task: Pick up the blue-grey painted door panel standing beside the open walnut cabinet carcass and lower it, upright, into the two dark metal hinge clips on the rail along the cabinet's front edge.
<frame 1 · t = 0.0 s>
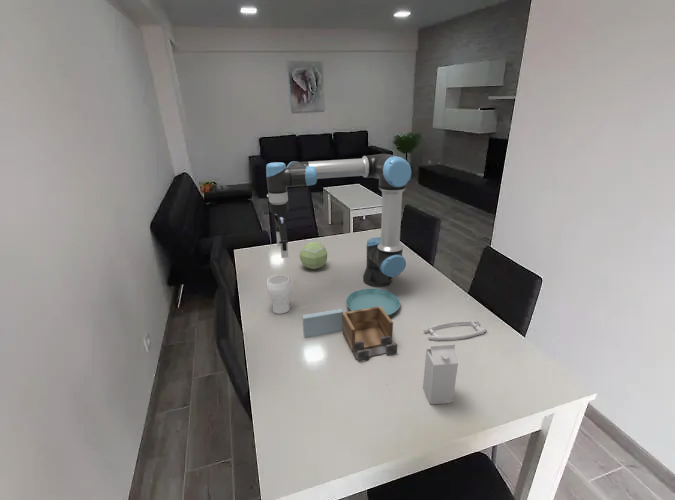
hand: (282, 251, 148), 28 cm above the table, fingers open, 13 cm apart
saucer: (372, 308, 159), on the table
decorative sphere: (314, 267, 199), on the table
door handle: (454, 333, 140), on the table
door: (323, 332, 142), on the table
cabinet: (366, 339, 137), on the table
cup: (281, 309, 159), on the table
milk carton: (437, 395, 110), on the table
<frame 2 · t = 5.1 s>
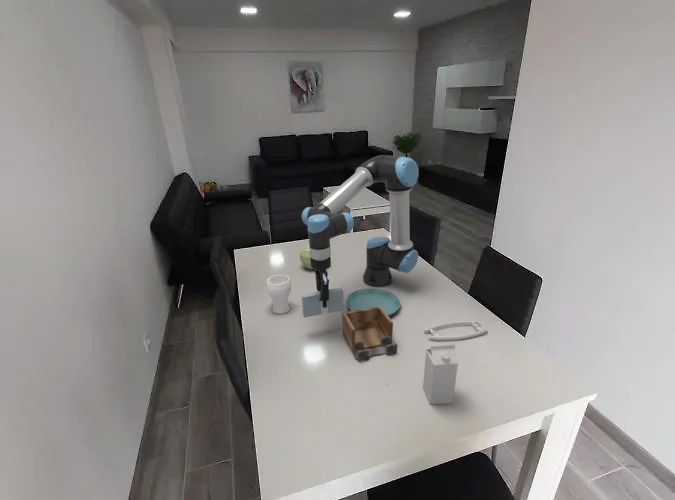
hand: (323, 311, 138), 10 cm above the table, fingers closed on door, 2 cm apart
door: (323, 312, 138), point 9 cm above the table, touching gripper
everything else where it was.
when the fingers open (2 cm above the table, at t = 9.2 s): door stays where it is, resting on cabinet.
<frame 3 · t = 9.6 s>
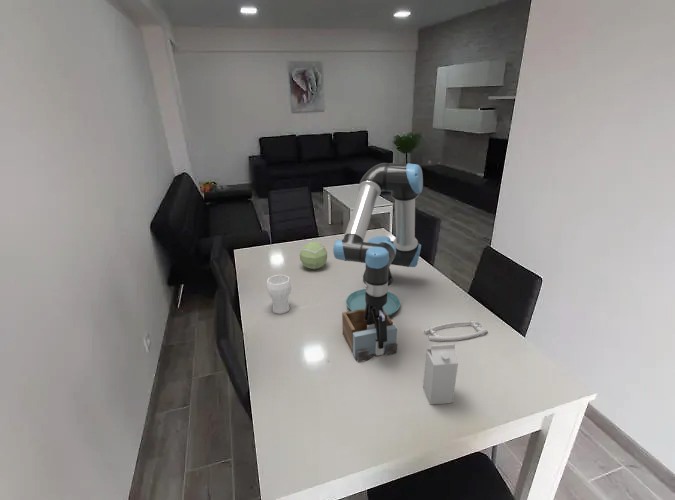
hand: (374, 346, 128), 3 cm above the table, fingers open, 8 cm apart
door: (374, 351, 129), point 1 cm above the table, touching cabinet
everything else where it was.
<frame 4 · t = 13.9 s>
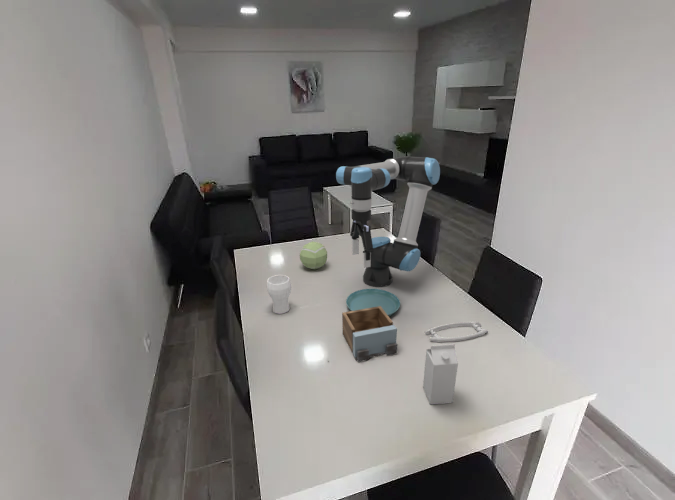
hand: (360, 260, 141), 27 cm above the table, fingers open, 13 cm apart
nothing on the table moved.
at the end: door 0.1 cm from the target spot on the cabinet, point 0.6 cm above the cabinet's base; door tilted 0°; the gripper is holding nothing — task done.
